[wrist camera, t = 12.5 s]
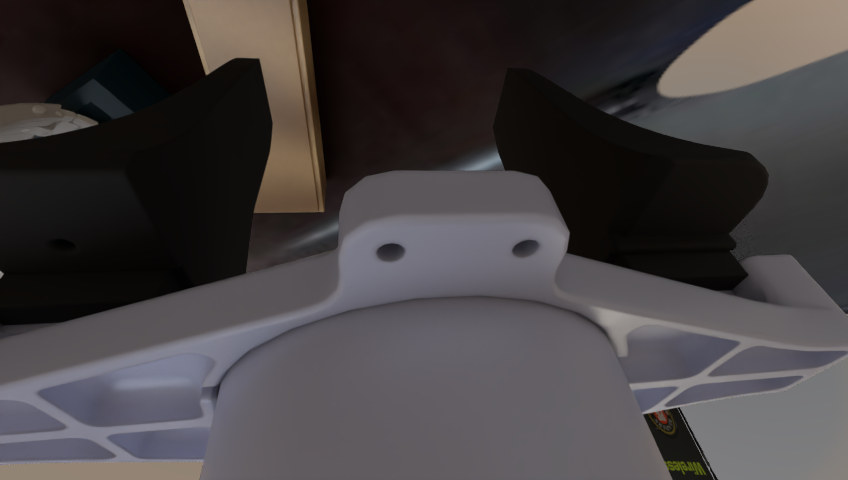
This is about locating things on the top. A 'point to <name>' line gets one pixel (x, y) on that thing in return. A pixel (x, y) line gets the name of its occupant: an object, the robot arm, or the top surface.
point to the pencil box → (272, 89)
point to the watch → (84, 101)
